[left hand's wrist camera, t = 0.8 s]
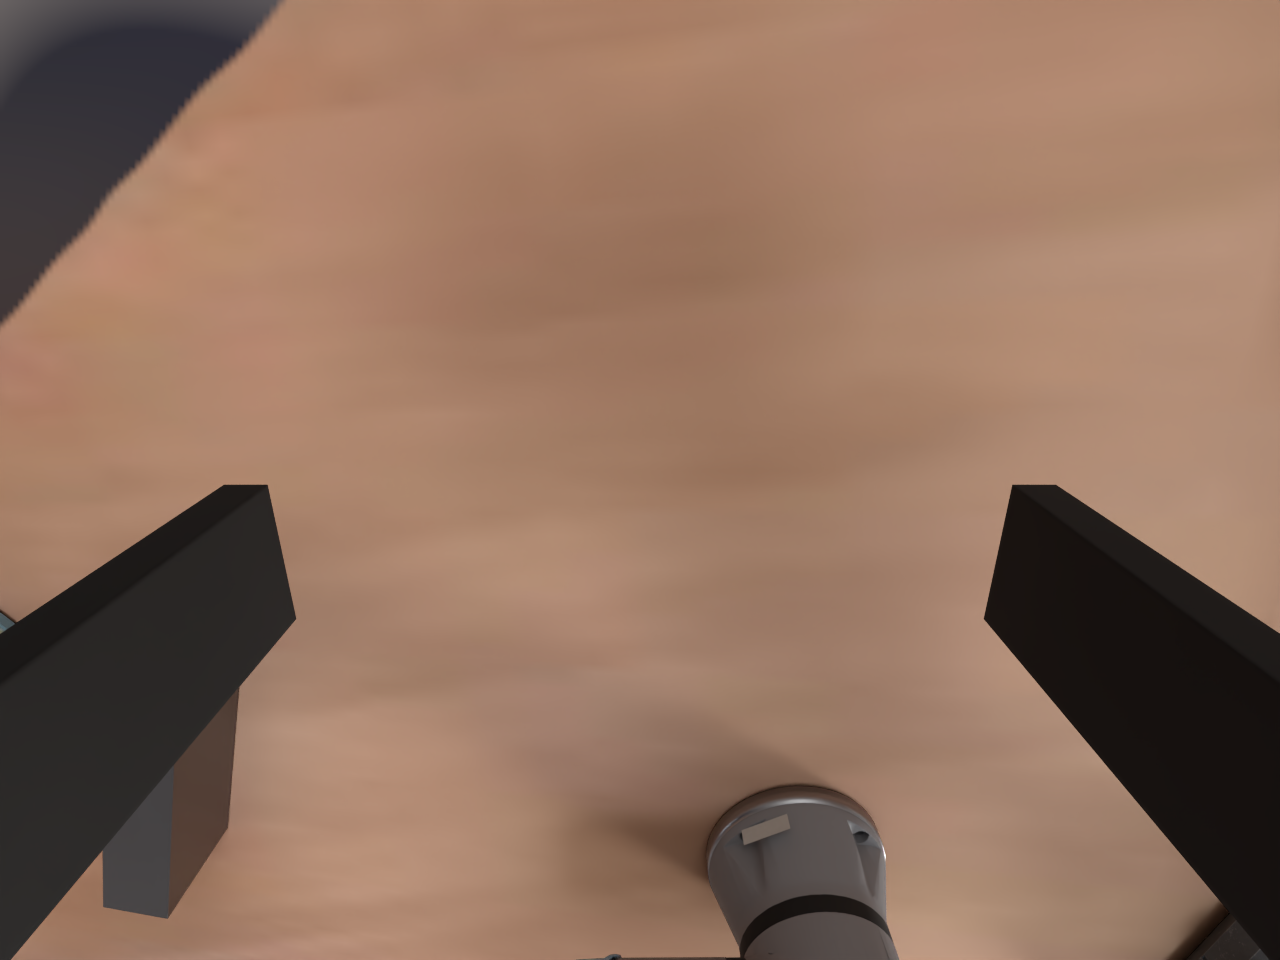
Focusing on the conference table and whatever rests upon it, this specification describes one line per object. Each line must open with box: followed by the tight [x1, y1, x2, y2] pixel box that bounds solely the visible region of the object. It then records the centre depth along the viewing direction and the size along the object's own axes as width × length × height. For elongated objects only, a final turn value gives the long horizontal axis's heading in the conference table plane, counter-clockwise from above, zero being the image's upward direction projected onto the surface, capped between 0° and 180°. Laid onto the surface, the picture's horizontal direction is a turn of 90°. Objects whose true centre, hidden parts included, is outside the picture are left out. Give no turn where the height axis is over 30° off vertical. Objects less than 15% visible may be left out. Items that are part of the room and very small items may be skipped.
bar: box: [103, 688, 239, 919], centre depth 52 cm, size 24×5×8 cm, turn 164°
